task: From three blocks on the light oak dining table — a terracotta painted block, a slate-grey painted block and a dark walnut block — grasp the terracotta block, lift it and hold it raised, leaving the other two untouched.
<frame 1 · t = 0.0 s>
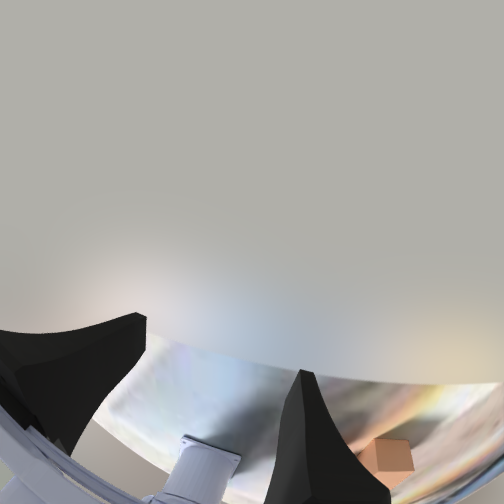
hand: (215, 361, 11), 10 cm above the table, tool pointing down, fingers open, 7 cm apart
terracotta block: (381, 450, 24), on the table
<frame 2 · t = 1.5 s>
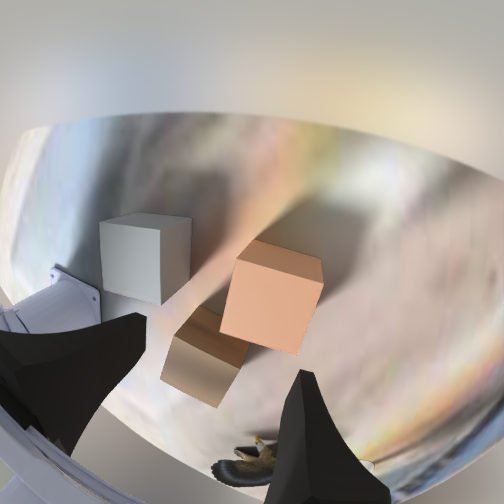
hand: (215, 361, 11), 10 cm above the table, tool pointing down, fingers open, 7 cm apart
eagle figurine: (265, 444, 26), on the table
walnut block: (216, 340, 23), on the table
slate grey block: (163, 245, 22), on the table
terracotta block: (277, 280, 20), on the table
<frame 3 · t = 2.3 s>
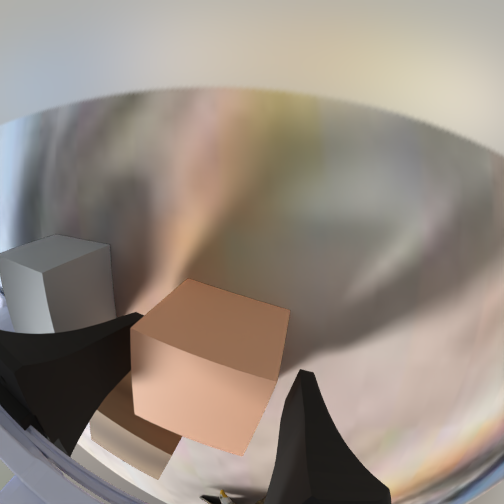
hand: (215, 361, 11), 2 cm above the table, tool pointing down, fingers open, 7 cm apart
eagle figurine: (233, 496, 19), on the table
walnut block: (160, 397, 16), on the table
slate grey block: (84, 278, 15), on the table
terracotta block: (227, 336, 13), on the table
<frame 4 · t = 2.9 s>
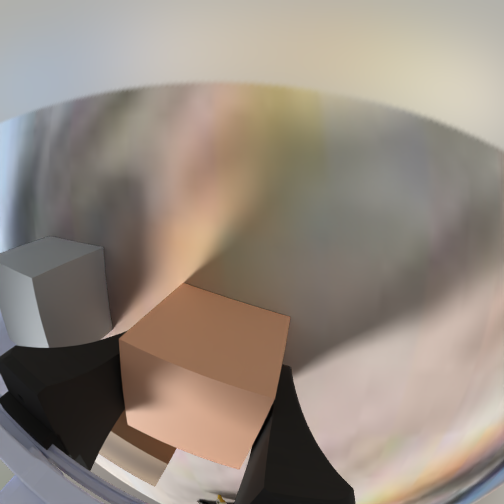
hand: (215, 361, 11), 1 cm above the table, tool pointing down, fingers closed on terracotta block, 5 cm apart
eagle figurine: (231, 501, 19), on the table
walnut block: (157, 402, 15), on the table
slate grey block: (78, 281, 14), on the table
terracotta block: (224, 344, 13), on the table, touching gripper
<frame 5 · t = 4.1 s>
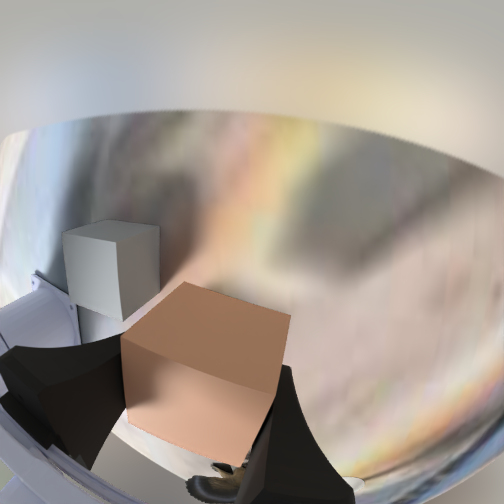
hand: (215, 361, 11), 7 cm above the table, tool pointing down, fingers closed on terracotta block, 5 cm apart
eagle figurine: (241, 462, 25), on the table
slate grey block: (132, 254, 20), on the table
champagne flute: (338, 486, 23), on the table
terracotta block: (225, 342, 13), point 6 cm above the table, touching gripper
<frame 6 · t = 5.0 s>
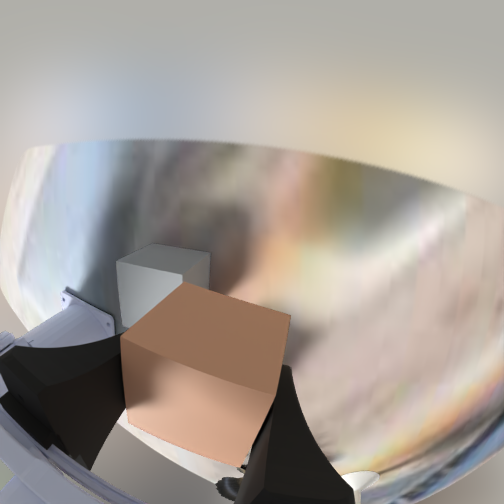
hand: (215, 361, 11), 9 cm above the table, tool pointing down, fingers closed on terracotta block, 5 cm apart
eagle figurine: (266, 462, 27), on the table
slate grey block: (180, 277, 22), on the table
champagne flute: (356, 480, 25), on the table
terracotta block: (225, 342, 13), point 8 cm above the table, touching gripper
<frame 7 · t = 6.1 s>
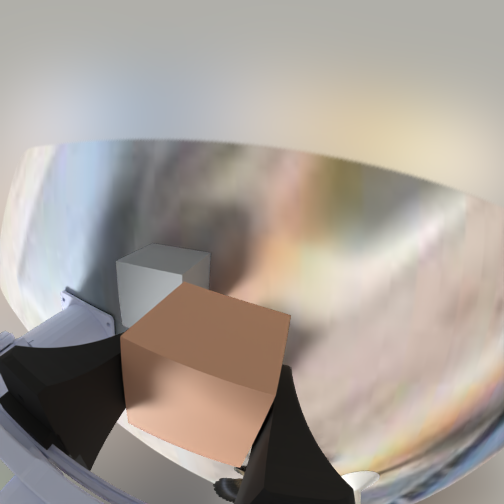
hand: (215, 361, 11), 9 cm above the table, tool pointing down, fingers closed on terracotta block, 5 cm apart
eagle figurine: (263, 464, 27), on the table
slate grey block: (180, 277, 22), on the table
champagne flute: (356, 480, 25), on the table
terracotta block: (225, 342, 13), point 8 cm above the table, touching gripper
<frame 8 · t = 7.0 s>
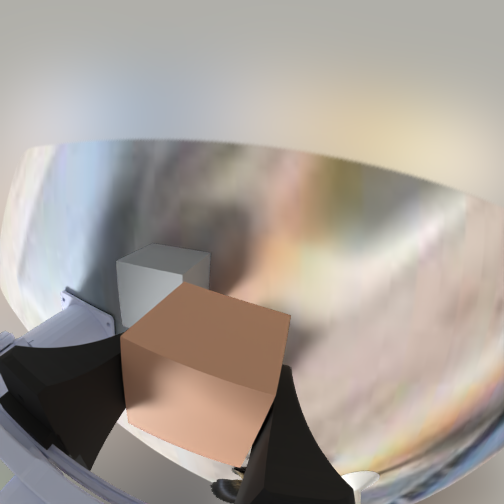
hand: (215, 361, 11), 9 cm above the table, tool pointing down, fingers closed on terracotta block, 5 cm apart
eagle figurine: (260, 465, 27), on the table
slate grey block: (180, 277, 22), on the table
champagne flute: (356, 480, 25), on the table
terracotta block: (225, 342, 13), point 8 cm above the table, touching gripper
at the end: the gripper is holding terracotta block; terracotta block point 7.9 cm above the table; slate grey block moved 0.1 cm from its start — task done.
